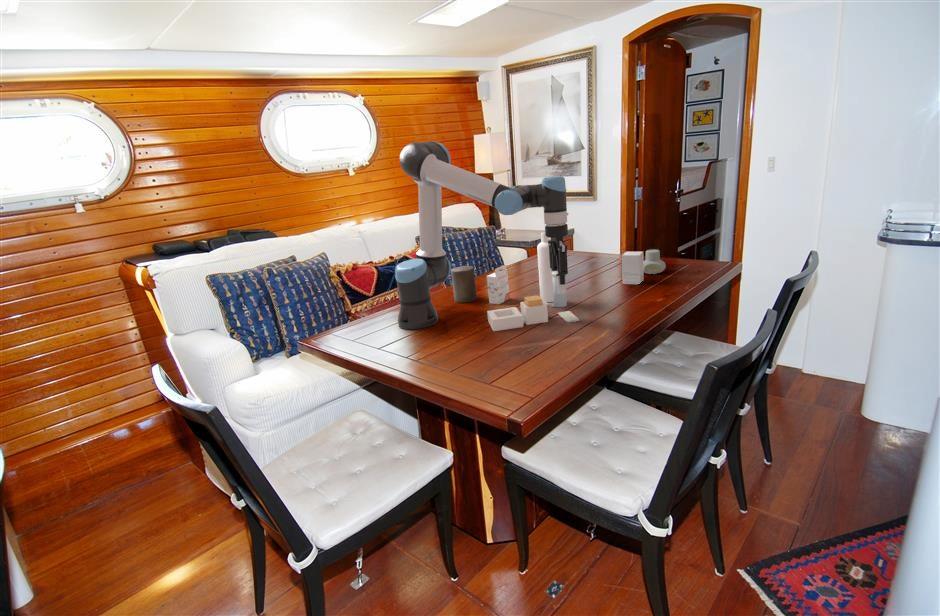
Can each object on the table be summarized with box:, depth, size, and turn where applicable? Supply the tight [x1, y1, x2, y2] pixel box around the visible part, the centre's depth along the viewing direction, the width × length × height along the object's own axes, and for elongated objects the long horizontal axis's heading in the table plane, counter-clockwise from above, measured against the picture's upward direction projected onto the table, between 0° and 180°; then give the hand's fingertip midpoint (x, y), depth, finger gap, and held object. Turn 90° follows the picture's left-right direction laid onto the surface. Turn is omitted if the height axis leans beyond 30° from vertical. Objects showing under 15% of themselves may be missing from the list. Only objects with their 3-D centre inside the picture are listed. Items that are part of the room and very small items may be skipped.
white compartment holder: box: [486, 300, 549, 332], centre depth 168 cm, size 20×10×7 cm, turn 98°
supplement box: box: [621, 251, 644, 285], centre depth 202 cm, size 7×7×13 cm
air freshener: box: [643, 249, 667, 275], centre depth 213 cm, size 11×8×10 cm
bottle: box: [536, 231, 556, 308], centre depth 183 cm, size 8×8×28 cm
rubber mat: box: [557, 310, 580, 323], centre depth 170 cm, size 10×10×1 cm
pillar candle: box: [450, 265, 478, 304], centre depth 203 cm, size 10×10×15 cm
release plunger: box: [523, 295, 542, 307], centre depth 168 cm, size 5×5×8 cm
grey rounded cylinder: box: [552, 270, 568, 308], centre depth 167 cm, size 5×5×12 cm
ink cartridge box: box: [486, 264, 510, 305], centre depth 196 cm, size 9×5×15 cm, turn 143°
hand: (559, 291), depth 167 cm, fingers closed on grey rounded cylinder, 5 cm apart
